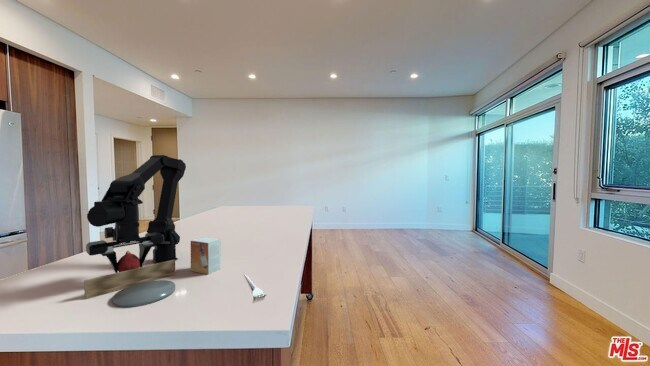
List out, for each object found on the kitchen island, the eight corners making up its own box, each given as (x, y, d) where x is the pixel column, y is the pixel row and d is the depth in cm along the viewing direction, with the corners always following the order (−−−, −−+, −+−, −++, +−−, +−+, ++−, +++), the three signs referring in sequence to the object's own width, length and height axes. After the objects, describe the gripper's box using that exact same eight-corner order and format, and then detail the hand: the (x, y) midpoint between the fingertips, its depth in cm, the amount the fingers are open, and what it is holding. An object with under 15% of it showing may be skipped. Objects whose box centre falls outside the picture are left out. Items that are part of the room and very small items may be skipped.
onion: (144, 274, 84) (144, 249, 84) (125, 281, 78) (125, 254, 78) (131, 271, 86) (131, 247, 85) (112, 278, 80) (111, 252, 80)
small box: (190, 271, 88) (189, 240, 88) (203, 266, 94) (203, 236, 93) (208, 274, 85) (207, 242, 85) (221, 269, 91) (220, 238, 90)
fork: (250, 276, 86) (250, 270, 86) (269, 300, 69) (269, 293, 69) (239, 278, 85) (240, 272, 85) (256, 303, 67) (256, 295, 67)
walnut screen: (173, 272, 87) (173, 259, 87) (176, 274, 86) (175, 260, 86) (84, 296, 71) (83, 279, 70) (85, 299, 69) (85, 282, 69)
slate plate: (164, 279, 82) (164, 276, 82) (183, 292, 73) (183, 289, 73) (107, 295, 71) (106, 292, 71) (120, 313, 62) (120, 309, 62)
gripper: (152, 213, 94) (153, 257, 94) (81, 221, 79) (83, 272, 80) (164, 217, 87) (165, 264, 87) (88, 226, 72) (90, 282, 73)
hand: (128, 269), depth 82 cm, fingers closed on onion, 6 cm apart
